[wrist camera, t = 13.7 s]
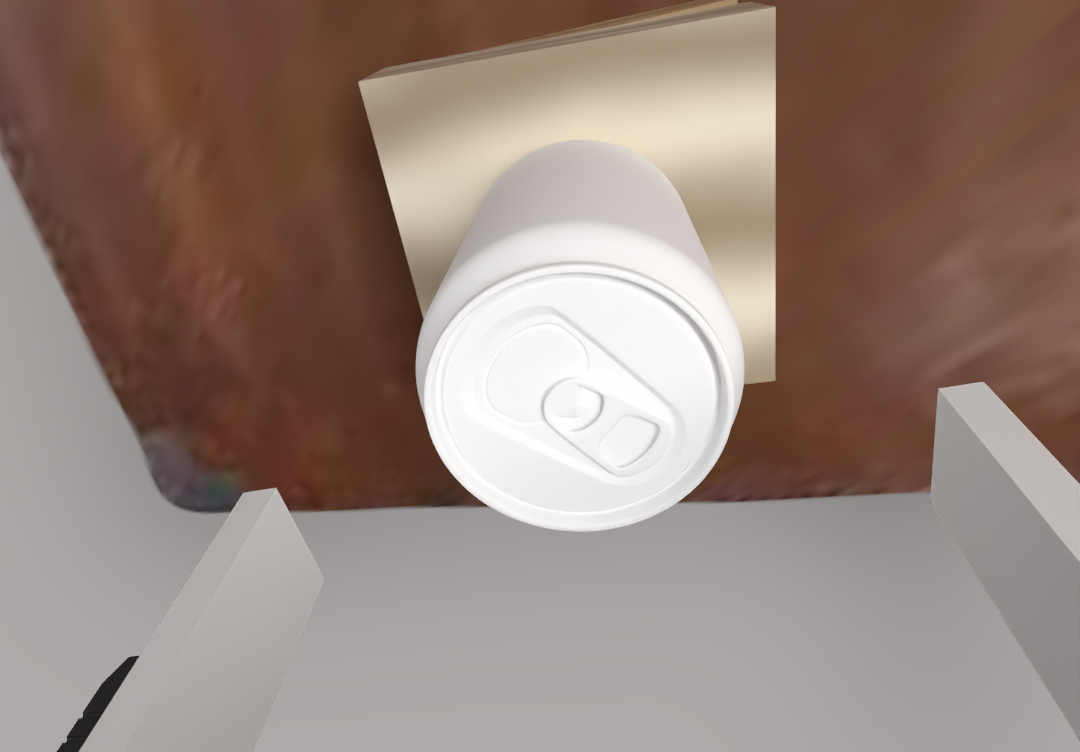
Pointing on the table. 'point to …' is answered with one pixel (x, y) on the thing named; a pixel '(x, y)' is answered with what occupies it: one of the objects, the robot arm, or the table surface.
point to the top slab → (598, 138)
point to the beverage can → (580, 345)
